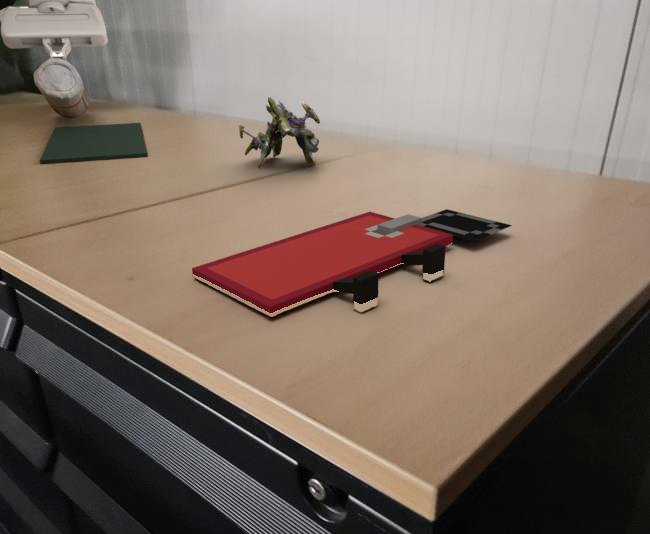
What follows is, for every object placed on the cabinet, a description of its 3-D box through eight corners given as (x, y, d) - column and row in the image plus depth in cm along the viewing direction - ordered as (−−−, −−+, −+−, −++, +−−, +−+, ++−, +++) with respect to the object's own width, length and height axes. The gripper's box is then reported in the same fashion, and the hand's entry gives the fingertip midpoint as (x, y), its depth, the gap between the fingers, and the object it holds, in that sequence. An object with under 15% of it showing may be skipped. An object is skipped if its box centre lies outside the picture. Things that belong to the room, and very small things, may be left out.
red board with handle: (527, 238, 63) (414, 209, 73) (531, 211, 61) (415, 185, 71) (302, 340, 45) (193, 282, 55) (301, 305, 44) (189, 253, 54)
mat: (40, 164, 94) (39, 160, 94) (55, 130, 119) (54, 127, 119) (148, 156, 98) (147, 152, 98) (140, 125, 123) (140, 122, 123)
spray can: (42, 78, 128) (26, 57, 109) (84, 74, 130) (75, 54, 111) (52, 120, 130) (37, 107, 111) (92, 116, 132) (85, 103, 113)
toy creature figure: (309, 199, 95) (339, 142, 86) (242, 195, 91) (266, 134, 81) (292, 145, 100) (319, 86, 91) (228, 138, 95) (249, 75, 86)
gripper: (-7, -6, 124) (-2, 50, 120) (100, -7, 129) (108, 47, 125) (2, 18, 130) (7, 73, 126) (104, 17, 135) (112, 69, 131)
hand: (58, 60), depth 126 cm, fingers closed
